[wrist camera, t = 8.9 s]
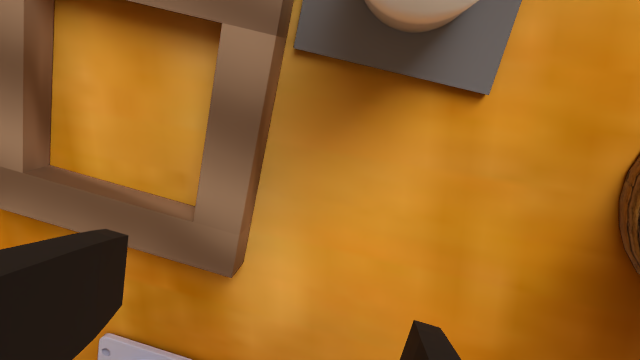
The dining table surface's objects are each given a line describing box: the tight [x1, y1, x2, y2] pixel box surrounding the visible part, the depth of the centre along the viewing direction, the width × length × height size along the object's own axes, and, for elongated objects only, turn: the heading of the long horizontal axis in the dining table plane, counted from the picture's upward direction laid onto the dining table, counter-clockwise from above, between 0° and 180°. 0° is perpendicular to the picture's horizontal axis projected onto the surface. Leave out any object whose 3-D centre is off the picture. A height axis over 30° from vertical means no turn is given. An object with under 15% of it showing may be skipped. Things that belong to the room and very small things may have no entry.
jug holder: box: [0, 0, 294, 278], centre depth 18 cm, size 13×13×2 cm
